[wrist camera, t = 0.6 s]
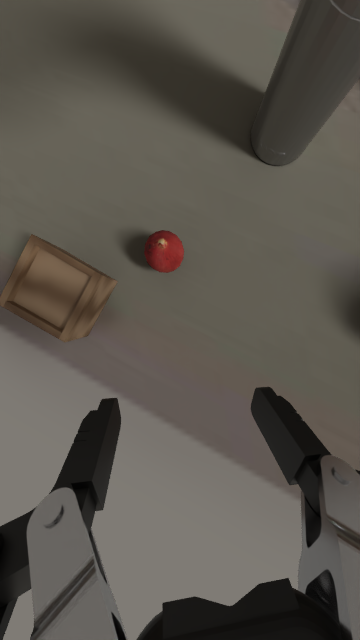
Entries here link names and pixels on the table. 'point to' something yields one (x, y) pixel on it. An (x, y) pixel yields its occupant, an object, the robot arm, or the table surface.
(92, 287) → the wooden tray
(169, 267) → the onion
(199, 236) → the table surface
